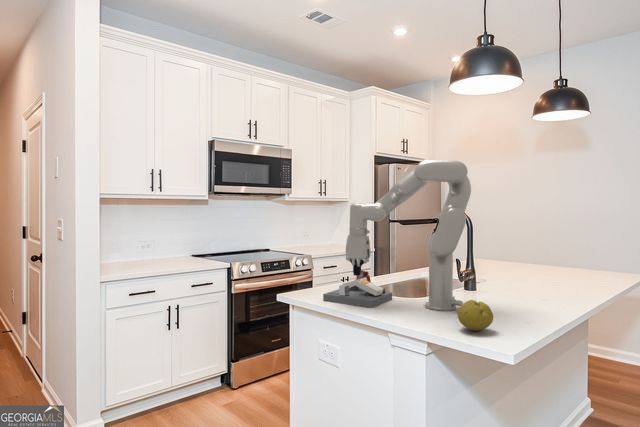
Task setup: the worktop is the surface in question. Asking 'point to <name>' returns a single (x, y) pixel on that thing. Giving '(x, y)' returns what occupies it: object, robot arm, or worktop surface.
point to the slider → (344, 290)
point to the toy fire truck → (364, 274)
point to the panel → (358, 297)
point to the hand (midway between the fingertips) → (356, 275)
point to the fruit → (475, 315)
